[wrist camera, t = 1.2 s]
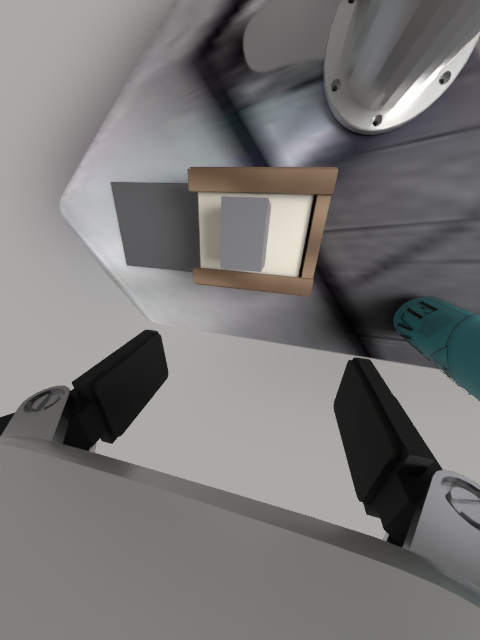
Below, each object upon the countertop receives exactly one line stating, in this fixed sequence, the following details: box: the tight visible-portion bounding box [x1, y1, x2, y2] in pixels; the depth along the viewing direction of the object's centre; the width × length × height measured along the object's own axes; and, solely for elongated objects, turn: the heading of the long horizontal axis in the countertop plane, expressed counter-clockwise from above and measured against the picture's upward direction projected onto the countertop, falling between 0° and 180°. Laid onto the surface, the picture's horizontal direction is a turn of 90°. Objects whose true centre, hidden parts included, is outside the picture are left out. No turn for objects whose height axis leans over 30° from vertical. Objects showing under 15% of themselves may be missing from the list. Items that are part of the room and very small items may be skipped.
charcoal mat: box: [111, 182, 200, 272], centre depth 29 cm, size 12×14×1 cm
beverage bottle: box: [393, 296, 480, 401], centre depth 18 cm, size 6×7×20 cm
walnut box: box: [188, 167, 338, 297], centre depth 23 cm, size 12×14×8 cm
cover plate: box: [198, 192, 314, 277], centre depth 19 cm, size 9×12×6 cm
